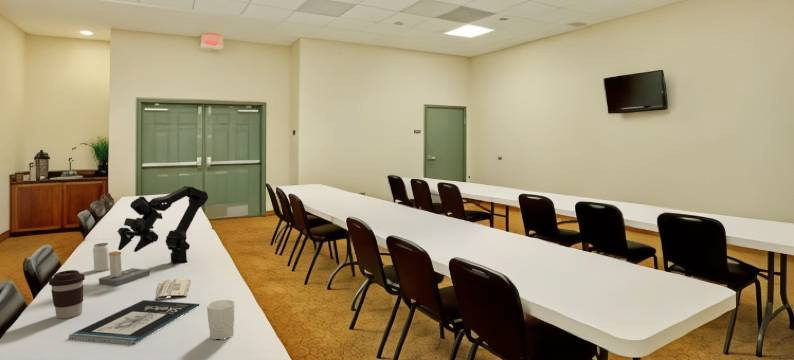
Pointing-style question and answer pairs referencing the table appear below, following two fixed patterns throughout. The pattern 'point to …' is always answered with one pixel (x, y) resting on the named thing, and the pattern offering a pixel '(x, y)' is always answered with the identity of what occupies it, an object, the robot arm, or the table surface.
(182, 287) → the open book
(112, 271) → the fader knob
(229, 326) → the white cup
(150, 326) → the sketchbook
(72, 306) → the coffee cup
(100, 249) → the can
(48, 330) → the table surface
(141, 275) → the console
